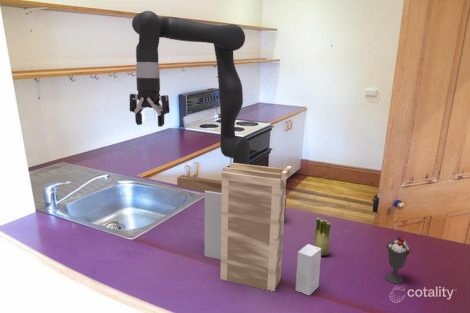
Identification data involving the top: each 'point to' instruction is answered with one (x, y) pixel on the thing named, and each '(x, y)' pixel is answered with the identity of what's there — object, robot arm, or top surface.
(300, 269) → the skincare box
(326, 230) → the fennel bulb
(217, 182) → the walnut bar
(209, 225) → the grey pedestal
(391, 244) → the sundae
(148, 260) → the top surface
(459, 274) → the top surface
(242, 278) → the birch shelf
